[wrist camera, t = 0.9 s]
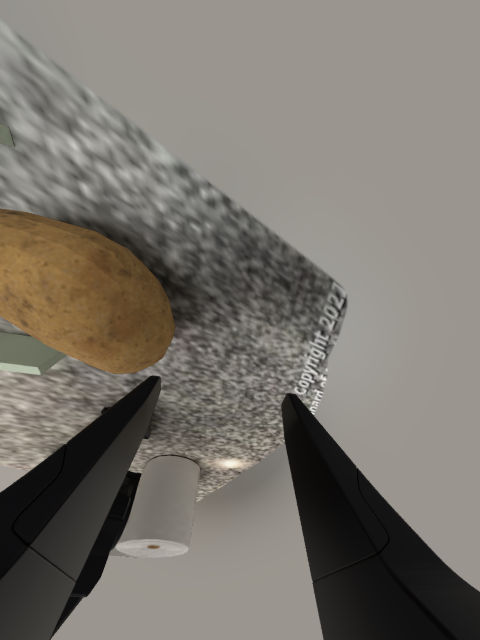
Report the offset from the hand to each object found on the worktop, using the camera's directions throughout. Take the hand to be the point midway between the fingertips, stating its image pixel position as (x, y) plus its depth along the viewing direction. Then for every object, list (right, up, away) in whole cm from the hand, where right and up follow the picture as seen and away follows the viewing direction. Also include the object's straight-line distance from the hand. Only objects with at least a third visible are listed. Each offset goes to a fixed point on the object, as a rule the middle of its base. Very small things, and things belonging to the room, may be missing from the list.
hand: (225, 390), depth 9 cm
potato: (-11, +7, +9) cm, 16 cm away
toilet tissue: (-13, -26, +27) cm, 40 cm away
